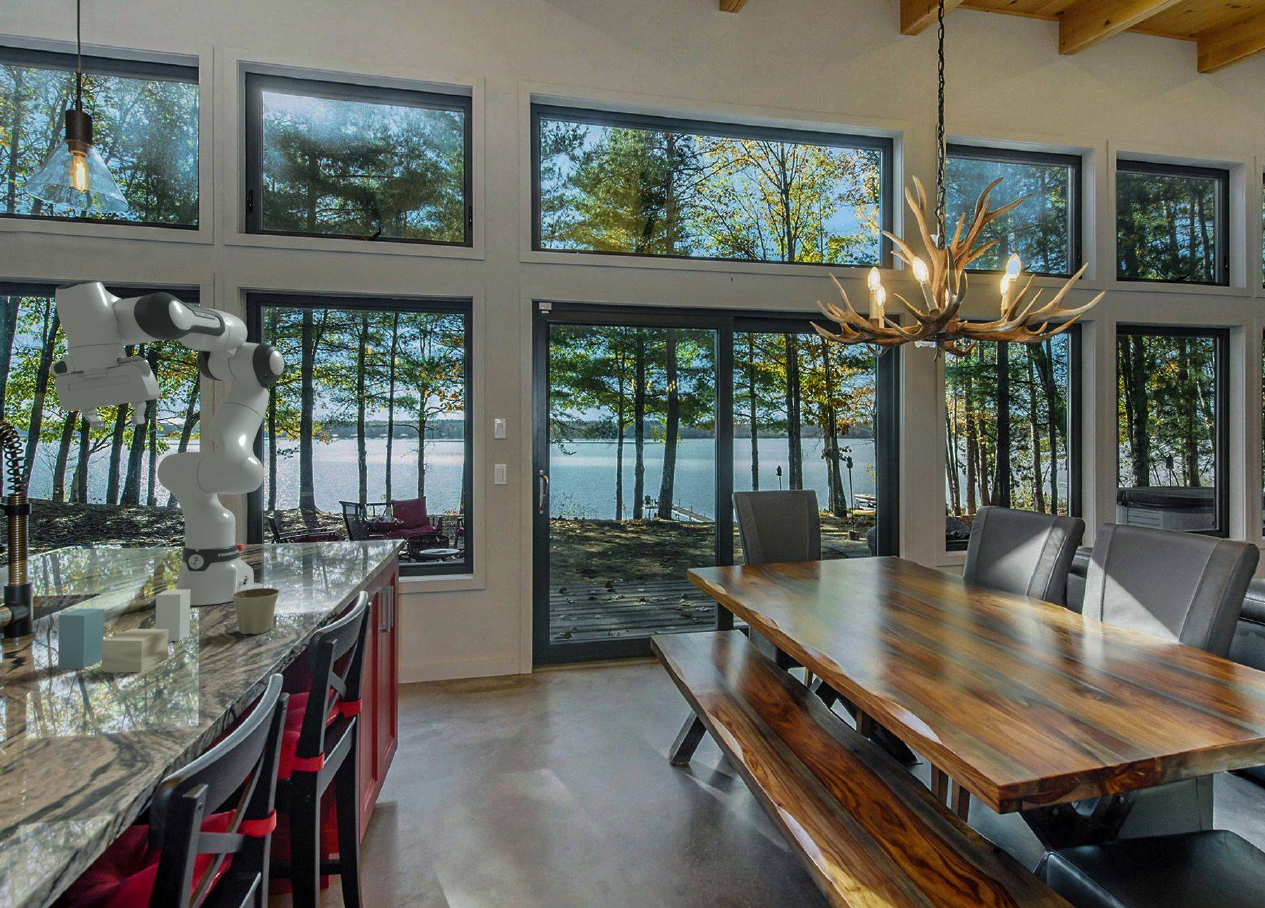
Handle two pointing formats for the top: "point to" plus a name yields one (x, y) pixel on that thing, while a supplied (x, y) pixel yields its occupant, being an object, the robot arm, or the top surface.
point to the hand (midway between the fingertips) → (119, 426)
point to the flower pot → (255, 609)
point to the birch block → (134, 650)
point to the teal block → (80, 638)
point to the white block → (173, 613)
